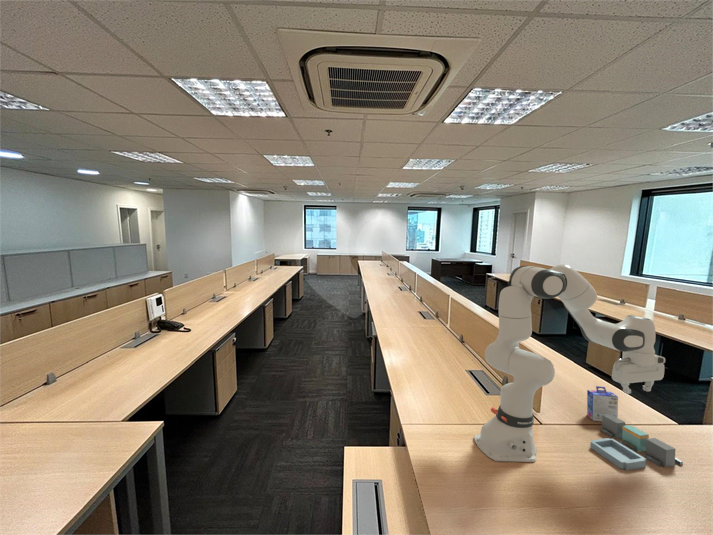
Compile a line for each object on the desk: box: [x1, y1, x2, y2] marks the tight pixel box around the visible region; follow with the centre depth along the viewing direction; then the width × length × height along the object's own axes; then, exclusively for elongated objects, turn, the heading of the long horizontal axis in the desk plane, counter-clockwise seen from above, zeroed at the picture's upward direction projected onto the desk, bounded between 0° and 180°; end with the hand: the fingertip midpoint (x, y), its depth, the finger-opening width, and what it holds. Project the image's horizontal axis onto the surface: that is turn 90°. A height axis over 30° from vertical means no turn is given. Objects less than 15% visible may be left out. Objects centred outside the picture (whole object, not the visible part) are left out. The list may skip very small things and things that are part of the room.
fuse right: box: [645, 437, 676, 469], centre depth 102 cm, size 4×6×6 cm, turn 9°
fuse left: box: [601, 414, 626, 439], centre depth 117 cm, size 4×6×6 cm, turn 9°
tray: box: [589, 437, 647, 471], centre depth 104 cm, size 10×12×2 cm
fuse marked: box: [621, 424, 650, 453], centre depth 109 cm, size 4×6×6 cm
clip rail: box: [600, 426, 684, 467], centre depth 110 cm, size 12×22×2 cm, turn 9°
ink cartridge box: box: [586, 385, 619, 422], centre depth 128 cm, size 10×6×14 cm, turn 76°
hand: (636, 391), depth 109 cm, fingers open, 8 cm apart
